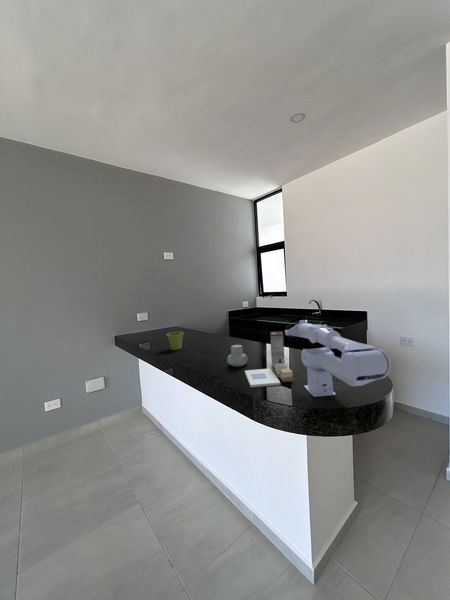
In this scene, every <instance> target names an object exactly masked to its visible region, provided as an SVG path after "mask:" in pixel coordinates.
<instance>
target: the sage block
mask: <svg viewBox="0 0 450 600" xmlns="http://www.w3.org/2000/svg"><path fill="white" fill-rule="evenodd" d="M274 368H275V370H274V372H275V374H277V375H279V376H280V375H281V374H280V369H287V364H284V363H275V367H274Z"/></svg>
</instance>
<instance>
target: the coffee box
mask: <svg viewBox="0 0 450 600" xmlns="http://www.w3.org/2000/svg"><path fill="white" fill-rule="evenodd" d="M269 342H270V344H269V345H270V355H271V356H270V357H271V368H275V363H284V364H285V361H286V360H285V344H284V343H285V342H284V332H283V331H270V334H269ZM285 365H286V364H285Z"/></svg>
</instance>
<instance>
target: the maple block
mask: <svg viewBox="0 0 450 600" xmlns="http://www.w3.org/2000/svg"><path fill="white" fill-rule="evenodd" d="M279 375H280V380H281V381H282V382H283V383H286V382H293V381H294V377H293V371H292V370H291V369H290V368H286V369H280V374H279Z"/></svg>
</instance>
